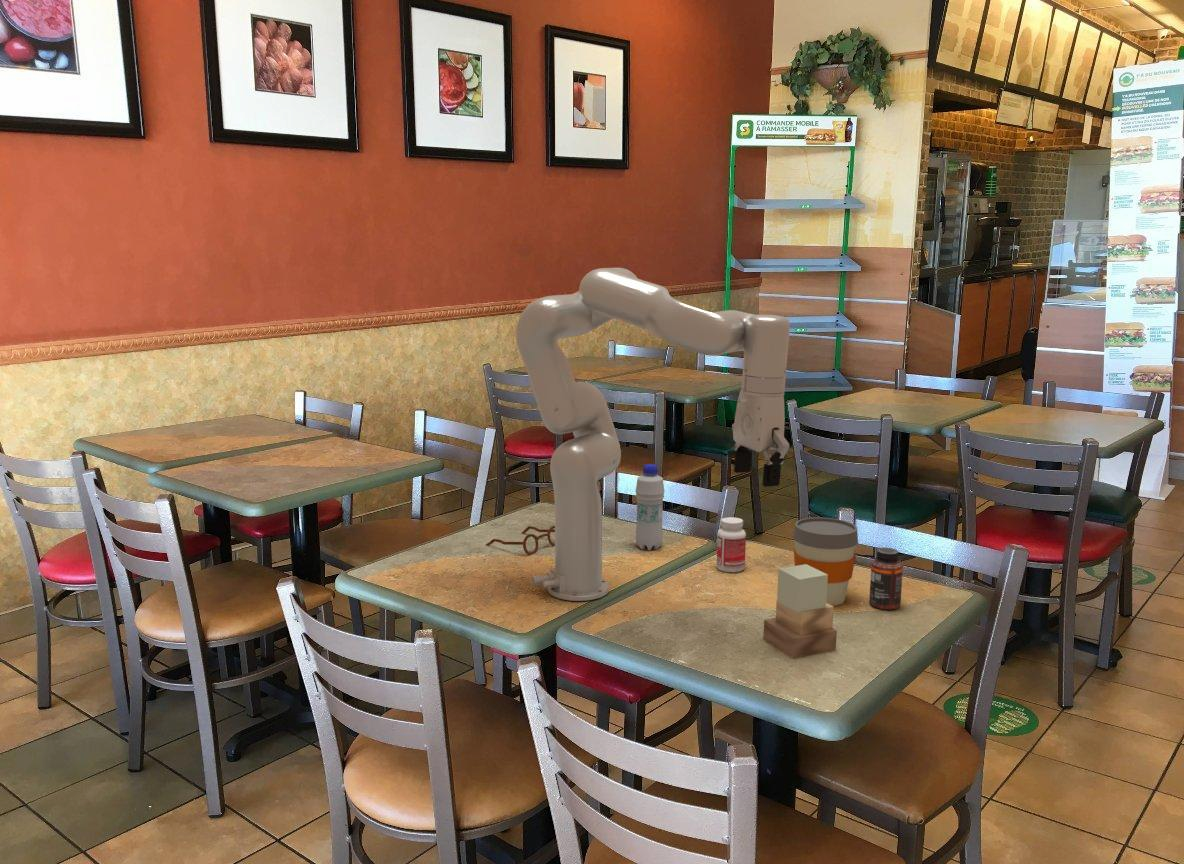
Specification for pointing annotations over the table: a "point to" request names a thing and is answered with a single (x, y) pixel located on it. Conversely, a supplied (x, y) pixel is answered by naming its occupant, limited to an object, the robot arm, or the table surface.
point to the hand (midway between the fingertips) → (756, 478)
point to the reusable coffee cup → (827, 552)
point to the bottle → (649, 508)
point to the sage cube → (802, 588)
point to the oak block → (805, 619)
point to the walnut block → (798, 639)
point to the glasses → (527, 538)
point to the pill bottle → (731, 545)
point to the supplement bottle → (886, 579)
